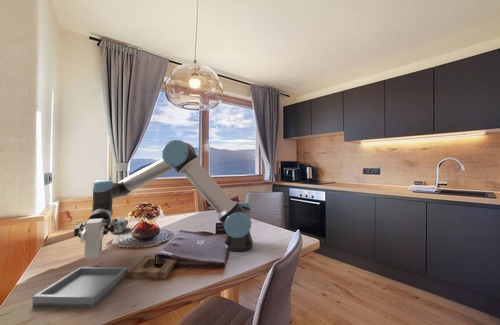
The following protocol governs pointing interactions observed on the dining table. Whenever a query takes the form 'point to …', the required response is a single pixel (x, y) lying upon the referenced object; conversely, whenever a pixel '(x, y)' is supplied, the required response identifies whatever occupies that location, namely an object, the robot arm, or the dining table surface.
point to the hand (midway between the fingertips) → (91, 237)
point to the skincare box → (93, 238)
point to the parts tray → (81, 287)
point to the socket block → (150, 269)
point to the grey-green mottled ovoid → (121, 225)
